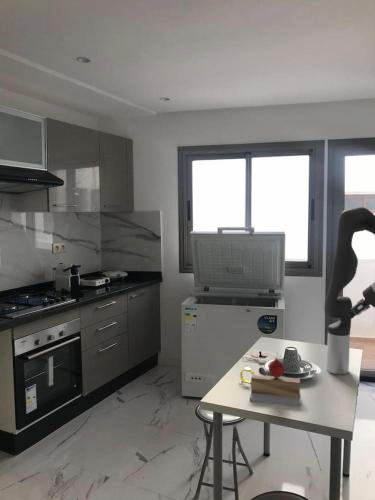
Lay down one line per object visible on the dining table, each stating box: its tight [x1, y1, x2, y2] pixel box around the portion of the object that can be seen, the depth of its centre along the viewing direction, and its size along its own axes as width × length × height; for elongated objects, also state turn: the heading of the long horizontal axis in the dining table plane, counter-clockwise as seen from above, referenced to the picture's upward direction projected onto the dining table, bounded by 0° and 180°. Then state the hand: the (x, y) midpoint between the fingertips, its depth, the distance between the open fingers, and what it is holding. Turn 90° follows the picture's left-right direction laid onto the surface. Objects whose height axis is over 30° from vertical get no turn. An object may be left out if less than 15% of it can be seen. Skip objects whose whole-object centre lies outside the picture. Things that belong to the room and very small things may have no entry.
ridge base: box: [249, 392, 300, 407], centre depth 164 cm, size 12×18×1 cm, turn 75°
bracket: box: [258, 367, 270, 376], centre depth 183 cm, size 14×15×3 cm
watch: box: [239, 366, 256, 384], centre depth 177 cm, size 6×3×6 cm, turn 61°
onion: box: [268, 357, 286, 378], centre depth 163 cm, size 6×6×8 cm
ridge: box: [250, 373, 301, 398], centre depth 164 cm, size 4×18×6 cm, turn 75°
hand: (345, 319), depth 156 cm, fingers open, 8 cm apart
